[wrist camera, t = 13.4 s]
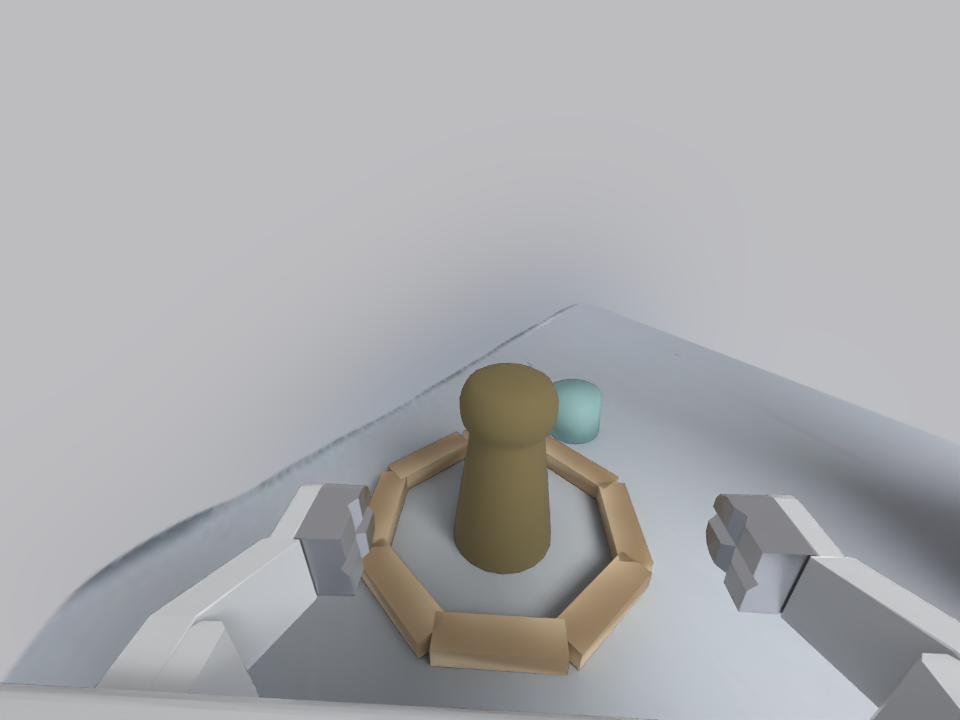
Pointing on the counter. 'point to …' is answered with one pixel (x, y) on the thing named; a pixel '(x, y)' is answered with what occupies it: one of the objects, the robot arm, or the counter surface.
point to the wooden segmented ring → (502, 635)
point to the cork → (505, 468)
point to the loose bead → (577, 411)
